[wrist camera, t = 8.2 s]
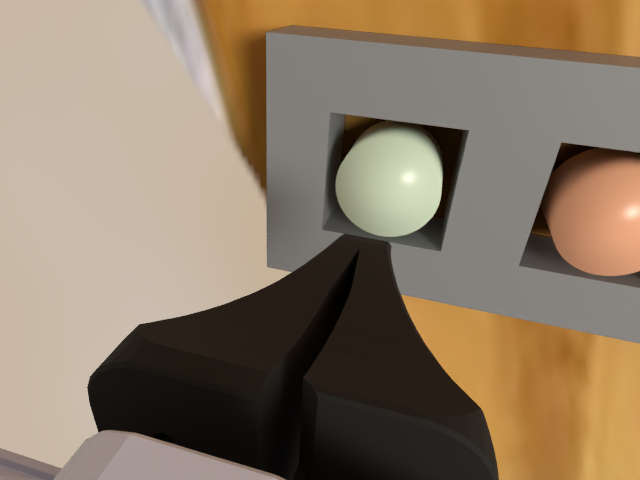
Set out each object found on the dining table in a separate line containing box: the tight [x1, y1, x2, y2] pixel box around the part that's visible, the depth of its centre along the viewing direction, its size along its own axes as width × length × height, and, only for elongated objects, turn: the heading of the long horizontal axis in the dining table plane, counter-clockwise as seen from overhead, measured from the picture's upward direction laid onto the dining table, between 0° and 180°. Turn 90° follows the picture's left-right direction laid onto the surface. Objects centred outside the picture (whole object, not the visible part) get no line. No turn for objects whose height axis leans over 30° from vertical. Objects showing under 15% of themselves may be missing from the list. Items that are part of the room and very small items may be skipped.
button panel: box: [266, 25, 640, 343], centre depth 17 cm, size 26×10×3 cm, turn 86°
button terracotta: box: [541, 148, 640, 276], centre depth 16 cm, size 4×4×3 cm
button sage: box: [336, 120, 444, 237], centre depth 18 cm, size 4×4×3 cm
